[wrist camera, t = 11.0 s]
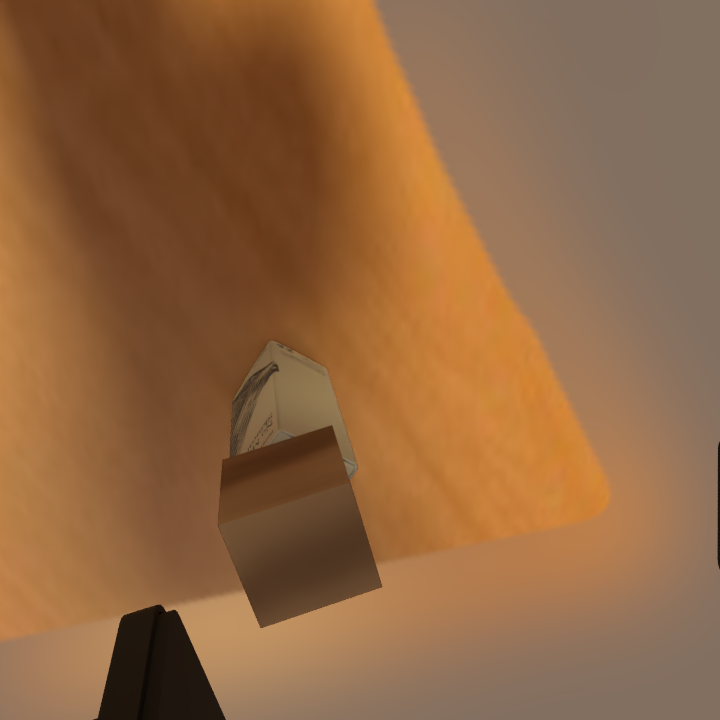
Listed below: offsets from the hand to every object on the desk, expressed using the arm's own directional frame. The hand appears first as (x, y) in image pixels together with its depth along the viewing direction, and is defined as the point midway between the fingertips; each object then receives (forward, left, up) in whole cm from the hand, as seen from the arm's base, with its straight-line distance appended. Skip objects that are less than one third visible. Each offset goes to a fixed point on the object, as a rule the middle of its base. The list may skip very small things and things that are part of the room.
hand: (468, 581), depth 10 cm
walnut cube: (+7, -4, -17) cm, 19 cm away
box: (+7, -4, -30) cm, 31 cm away
